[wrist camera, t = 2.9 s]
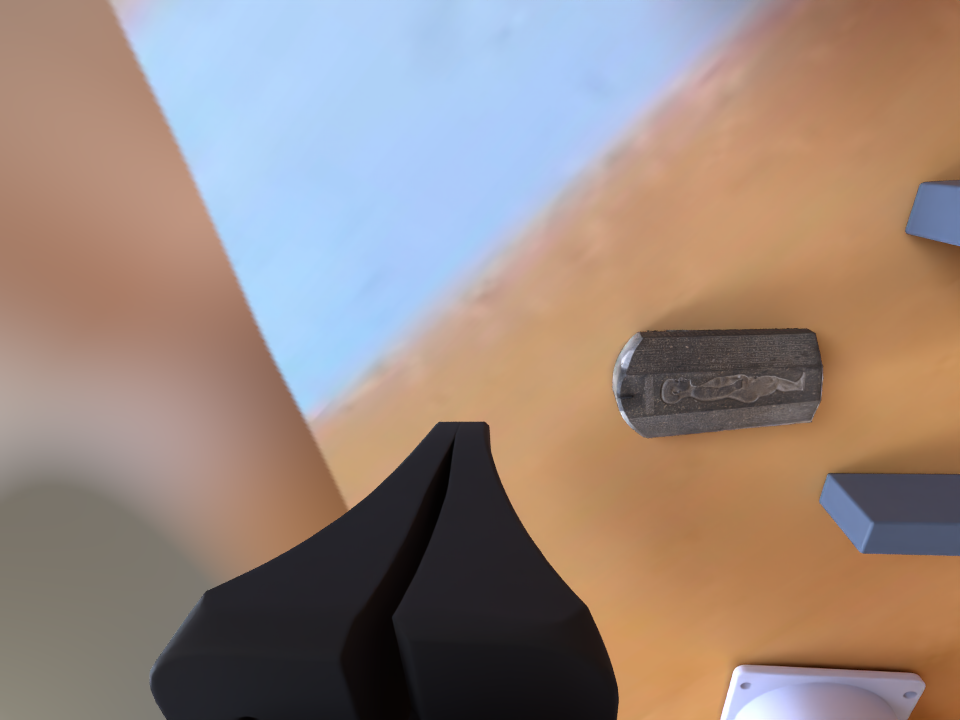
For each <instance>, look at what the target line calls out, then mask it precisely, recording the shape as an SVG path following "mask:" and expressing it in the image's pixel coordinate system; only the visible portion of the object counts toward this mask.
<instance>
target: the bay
mask: <svg viewBox="0 0 960 720" xmlns="http://www.w3.org/2000/svg"><path fill="white" fill-rule="evenodd" d="M905 232H906V233H907V234H911V235H915V236H919V237H923V238H927V239H932V240H936V241H940V242H944V243H948V244H952V245H956V246H960V180H949V181H931V182H923V183H921V184H920V186H919V189H918V192H917V195H916V198H915V201H914V204H913V208H912V211H911V214H910V217H909V220H908V223H907V226H906V230H905ZM819 501H820V504H821V505H822V506H823V507H824V509H825V510H826V511H827V512H828V513H829V515H830V516H831V517H832V518H833V520H834V521H835V522H836V523H837V525H838V526H839V527H840V528H841V529H842V531H843V532H844V533H845V534H846V536H847V537H848V538H849V539H850V541H851V542H852V543H853V544H854V545H855V547H856V548H857V549H858V550H859V552H861V553H865V554H905V555H946V556H960V474H851V473H829V474H828V475H827V478H826V481H825V484H824V487H823V490H822V493H821V497H820V500H819Z"/></svg>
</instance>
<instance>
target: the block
mask: <svg viewBox="0 0 960 720" xmlns="http://www.w3.org/2000/svg"><path fill="white" fill-rule="evenodd" d="M822 385H823V365H822V361H821V356H820V351H819V346H818V342H817V337H816V333H814V332H813V331H811V330H809V329H798V328H793V329H792V328H791V329H789V328H787V329H743V330H738V329H733V330H666V331H660V332H658V330H657V331H650V332H649V331H648V332H638V333H636V334H635V335H634V336H633V337H632V338H631V339H630V340H629V341H628V342H627V344H626V345H625V346H624V348H623V349H622V351H621V352H620V354H619V356H618V358H617V361H616V364H615V368H614V372H613V387H612V388H613V391H614V395H615V399H616V401H617V406H618V408H619V411H620V413H621V415H622V417H623V419H624V420H625V421H626V423H627V424H628V425H629V426H630V427H631V428H632V429H633V430H635V431H636V432H637V433H639V435H641V436H643V437H646V438H653V437H665V436H675V435H686V434H695V433H705V432H717V431H724V430H735V429H743V428H755V427H766V426H777V425H790V424H796V423H810V422H812V419H813V417H814V414H815V412H816V410H817V408H818V406H819V404H820V401H821V396H822Z"/></svg>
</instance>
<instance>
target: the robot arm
mask: <svg viewBox="0 0 960 720" xmlns="http://www.w3.org/2000/svg"><path fill="white" fill-rule="evenodd" d="M925 686H926V685H925V683H924V682H923V680H922V679H921V678H920V676H919V675H917V674H915V673H907V672H887V671H867V670H847V669H827V668H807V667H787V666H767V665H747V664H745V665H740V666H738V667H736V668H735V670H734V672H733V675H732V679H731V683H730V686H729V690H728V694H727V697H726V701H725V705H724V708H723V712H722V716H721V719H720V720H907V719H908V717H909V716H910V714H911V712H912V710H913V709H914V707H915V705H916V703H917V702H918V700H919V698H920V696H921V695H922V693H923V691H924V689H925ZM150 688H151V691H152V694H153V696H154V699H155V701H156V703H157V705H158V706H159V708H160V710H161V711H162V713H163V715H164V716H165V718H166V719H167V720H617V713H618V703H619V697H618V687H617V682H616V678H615V675H614V671H613V667H612V664H611V661H610V658H609V655H608V653H607V650H606V647H605V645H604V642H603V640H602V638H601V635H600V633H599V631H598V628H597V626H596V624H595V622H594V620H593V617H592V615H591V613H590V611H589V609H588V607H587V606H586V605H585V603H584V602H583V601H582V600H581V599H580V598H579V597H578V596H577V595H576V594H575V593H574V592H573V591H572V590H571V589H570V587H569V586H568V585H567V584H566V583H565V582H564V581H563V580H562V578H561V577H560V576H559V575H558V573H557V572H556V571H555V570H554V569H553V567H552V566H551V565H550V564H549V562H548V561H547V560H546V558H545V557H544V556H543V554H542V553H541V551H540V550H539V548H538V547H537V546H536V544H535V543H534V541H533V540H532V539H531V537H530V536H529V534H528V533H527V531H526V529H525V528H524V526H523V524H522V523H521V521H520V519H519V518H518V516H517V514H516V512H515V510H514V509H513V507H512V505H511V503H510V501H509V499H508V496H507V494H506V492H505V490H504V488H503V485H502V483H501V480H500V478H499V475H498V473H497V470H496V467H495V464H494V461H493V457H492V454H491V445H490V430H489V425H488V424H487V423H486V422H438V423H437V424H436V425H435V426H434V427H433V429H432V430H431V431H430V432H429V433H428V434H427V436H426V437H425V438H424V439H423V440H422V441H421V443H420V444H419V445H418V446H417V447H416V448H415V449H414V450H413V452H412V453H411V454H410V455H409V456H408V457H407V458H406V459H405V460H404V461H403V462H402V463H401V464H400V466H399V467H398V468H397V469H396V470H395V471H394V472H393V473H392V474H391V475H390V476H389V477H387V478H386V479H385V480H384V481H383V482H382V483H381V484H380V485H379V486H378V487H377V488H376V489H375V490H374V491H373V492H372V493H370V494H369V495H368V496H367V497H366V498H365V499H363V500H362V501H361V502H360V503H358V504H357V505H356V506H354V507H353V508H352V509H351V510H349V511H348V512H347V513H345V514H344V515H343V516H341V517H340V518H338V519H337V520H336V521H334V522H333V523H331V524H330V525H328V526H327V527H325V528H324V529H322V530H321V531H319V532H318V533H316V534H315V535H313V536H312V537H310V538H309V539H307V540H305V541H304V542H302V543H300V544H299V545H297V546H296V547H294V548H292V549H290V550H289V551H287V552H285V553H283V554H281V555H280V556H278V557H276V558H274V559H272V560H271V561H269V562H267V563H265V564H263V565H261V566H259V567H257V568H255V569H253V570H251V571H249V572H247V573H244V574H243V575H240V576H238V577H236V578H234V579H232V580H230V581H228V582H226V583H223V584H221V585H219V586H217V587H215V588H212V589H210V590H208V591H206V592H205V593H204V595H203V596H202V597H201V599H200V600H199V601H198V603H197V604H196V605H195V607H194V608H193V609H192V611H191V612H190V613H189V615H188V616H187V617H186V619H185V620H184V622H183V623H182V625H181V626H180V627H179V629H178V630H177V632H176V633H175V635H174V636H173V637H172V639H171V640H170V642H169V643H168V645H167V646H166V647H165V649H164V650H163V652H162V653H161V654H160V656H159V657H158V659H157V660H156V662H155V664H154V665H153V667H152V669H151V670H150Z"/></svg>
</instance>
